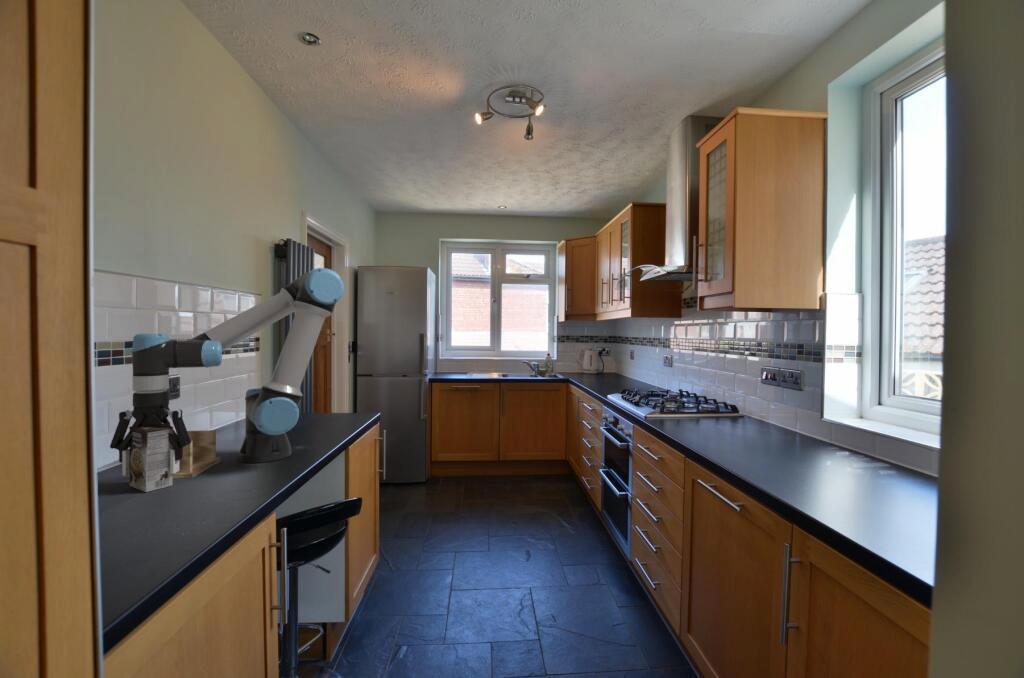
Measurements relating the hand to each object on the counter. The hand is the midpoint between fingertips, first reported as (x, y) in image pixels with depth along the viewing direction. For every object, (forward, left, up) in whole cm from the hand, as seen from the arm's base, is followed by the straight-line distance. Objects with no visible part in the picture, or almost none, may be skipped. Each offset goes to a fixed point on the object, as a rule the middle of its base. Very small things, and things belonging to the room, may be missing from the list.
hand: (151, 473), depth 116 cm
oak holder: (-1, -14, -3) cm, 14 cm away
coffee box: (0, 0, -4) cm, 4 cm away
